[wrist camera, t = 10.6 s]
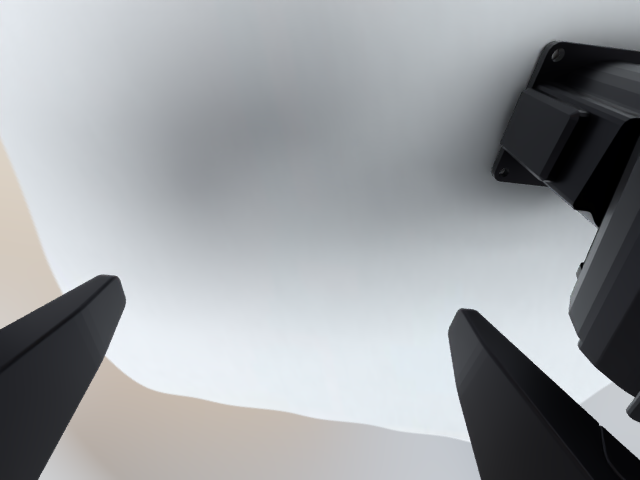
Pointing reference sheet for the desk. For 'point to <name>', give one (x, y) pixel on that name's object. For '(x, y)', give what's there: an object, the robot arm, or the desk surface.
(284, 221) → the desk surface
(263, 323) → the desk surface
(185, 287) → the desk surface
